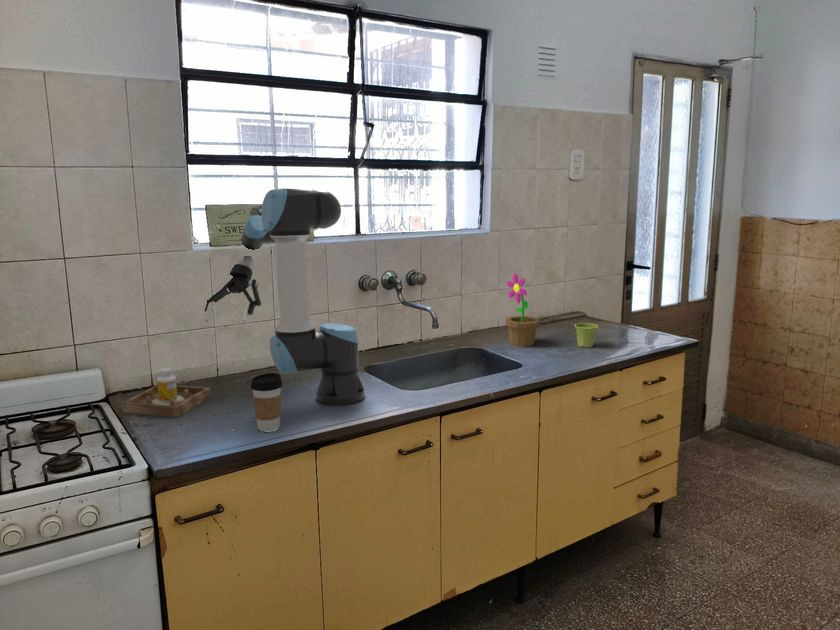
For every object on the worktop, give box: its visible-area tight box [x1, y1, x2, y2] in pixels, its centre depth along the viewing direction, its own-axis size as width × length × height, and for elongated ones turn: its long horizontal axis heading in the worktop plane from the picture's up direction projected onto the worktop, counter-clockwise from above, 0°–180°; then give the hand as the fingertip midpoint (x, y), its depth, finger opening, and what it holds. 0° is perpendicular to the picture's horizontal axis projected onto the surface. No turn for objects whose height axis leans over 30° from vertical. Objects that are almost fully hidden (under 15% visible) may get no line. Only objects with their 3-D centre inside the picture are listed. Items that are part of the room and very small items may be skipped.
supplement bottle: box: [156, 367, 177, 403], centre depth 195 cm, size 5×5×10 cm
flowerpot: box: [504, 272, 541, 348], centre depth 266 cm, size 14×14×30 cm
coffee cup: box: [250, 372, 283, 431], centre depth 177 cm, size 8×8×15 cm
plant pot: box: [574, 322, 599, 349], centre depth 265 cm, size 9×9×9 cm
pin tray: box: [121, 384, 211, 418], centre depth 196 cm, size 18×18×4 cm
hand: (225, 321), depth 213 cm, fingers open, 13 cm apart
